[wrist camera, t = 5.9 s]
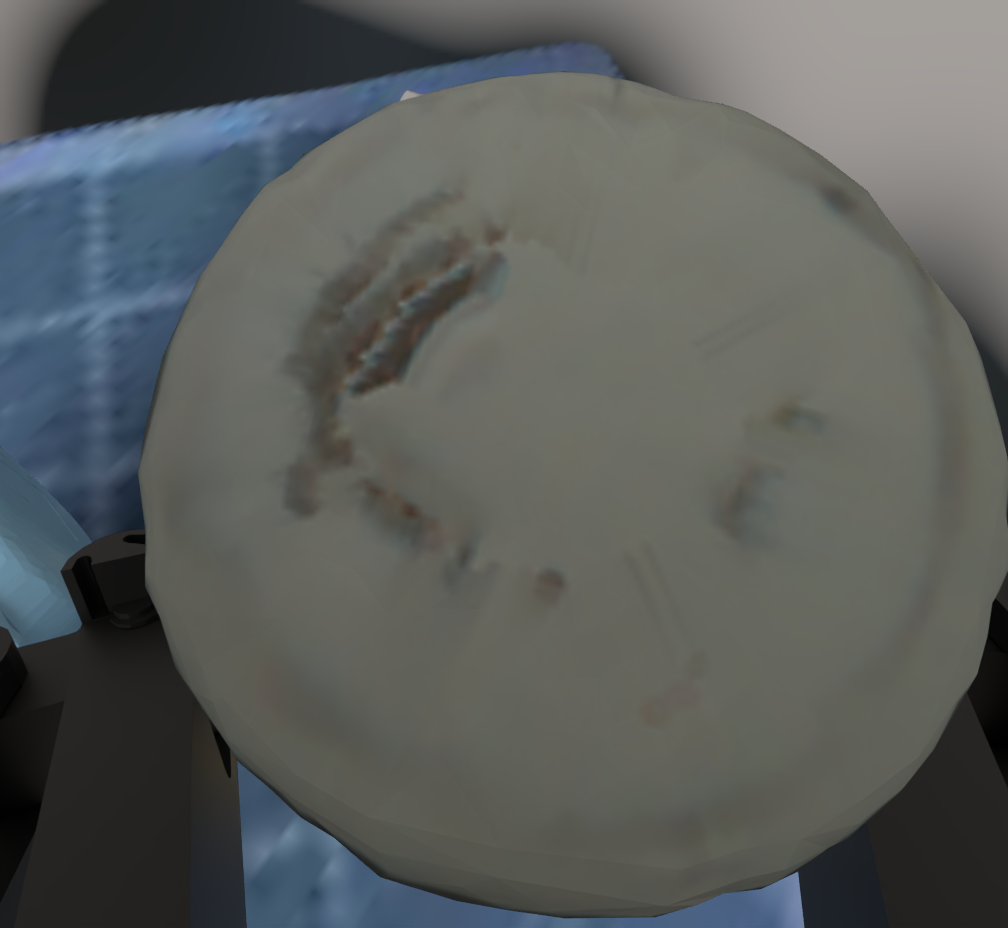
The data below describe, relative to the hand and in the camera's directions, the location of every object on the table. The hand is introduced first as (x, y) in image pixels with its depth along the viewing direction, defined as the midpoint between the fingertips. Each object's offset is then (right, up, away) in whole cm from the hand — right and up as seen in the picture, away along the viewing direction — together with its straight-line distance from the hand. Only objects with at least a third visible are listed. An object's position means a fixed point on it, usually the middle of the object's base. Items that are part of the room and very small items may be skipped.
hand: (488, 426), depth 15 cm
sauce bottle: (0, -6, +7) cm, 9 cm away
